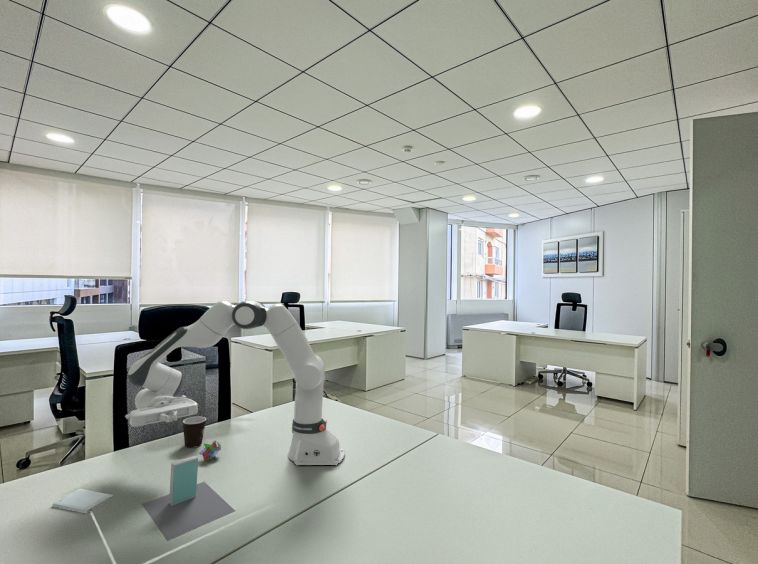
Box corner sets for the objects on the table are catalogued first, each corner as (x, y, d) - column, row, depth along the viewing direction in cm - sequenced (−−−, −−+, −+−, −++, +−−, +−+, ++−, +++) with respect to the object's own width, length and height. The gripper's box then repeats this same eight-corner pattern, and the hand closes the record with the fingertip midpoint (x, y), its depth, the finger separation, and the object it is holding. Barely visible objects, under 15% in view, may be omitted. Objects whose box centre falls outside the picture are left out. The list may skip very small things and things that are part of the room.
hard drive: (52, 502, 105) (87, 509, 102) (80, 487, 113) (113, 493, 110) (52, 508, 105) (86, 515, 102) (80, 493, 113) (113, 499, 110)
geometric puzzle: (206, 461, 130) (217, 439, 135) (191, 458, 132) (202, 436, 137) (217, 466, 136) (227, 444, 140) (203, 463, 138) (213, 441, 143)
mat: (141, 505, 107) (142, 503, 107) (204, 483, 120) (204, 481, 120) (167, 543, 92) (167, 540, 92) (235, 512, 105) (235, 510, 105)
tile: (169, 503, 108) (171, 462, 108) (193, 493, 113) (195, 455, 113) (171, 506, 106) (173, 465, 106) (196, 496, 111) (198, 457, 112)
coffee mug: (195, 450, 144) (196, 425, 144) (176, 447, 145) (177, 422, 146) (214, 438, 155) (215, 415, 155) (196, 436, 157) (197, 413, 157)
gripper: (124, 405, 120) (136, 416, 110) (189, 394, 135) (204, 403, 126) (123, 424, 120) (135, 437, 110) (188, 411, 135) (203, 421, 125)
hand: (172, 419), depth 118 cm, fingers closed
